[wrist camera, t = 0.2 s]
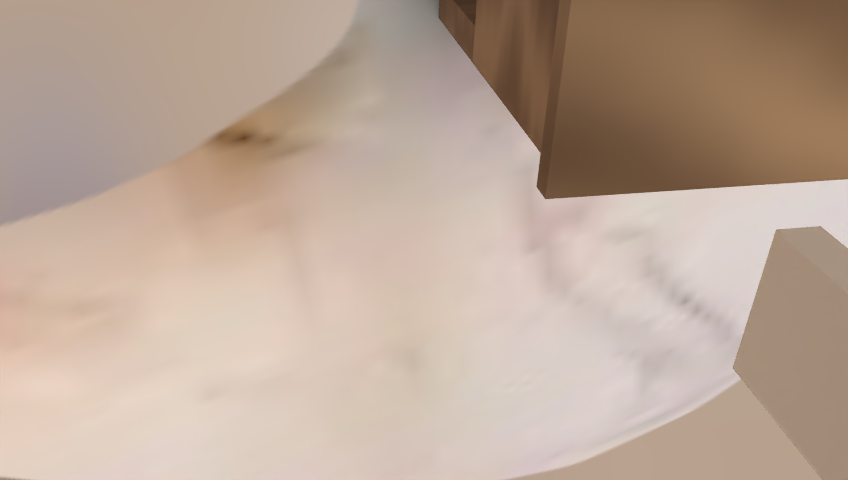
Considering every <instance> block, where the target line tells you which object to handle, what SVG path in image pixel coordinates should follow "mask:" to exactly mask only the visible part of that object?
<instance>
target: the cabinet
mask: <svg viewBox="0 0 848 480" xmlns="http://www.w3.org/2000/svg"><path fill="white" fill-rule="evenodd" d="M439 19H440V20H441V21H442V23H443V24H444V25H445V27H446V28H447V29H448V31H449V32H450V33H451V35H452V36H453V37H454V39H455V40H456V41H457V43H458V44H459V45H460V46H461V48H462V49H463V50H464V52H465V53H466V54H467V56H468V57H469V58H470V60H471V61H472V62H473V64H474V65H475V66H476V68H477V69H478V70H479V72H480V73H481V74H482V76H483V77H484V78H485V80H486V81H487V82H488V84H489V85H490V86H491V88H492V89H493V90H494V92H495V93H496V94H497V96H498V97H499V98H500V100H501V101H502V102H503V103H504V105H505V106H506V107H507V109H508V110H509V111H510V113H511V114H512V115H513V117H514V118H515V119H516V121H517V122H518V123H519V125H520V126H521V127H522V129H523V130H524V131H525V133H526V134H527V135H528V137H529V138H530V139H531V141H532V142H533V143H534V145H535V146H536V147H537V149H538V150H539V151H540V153H541V156H540V164H539V172H538V180H537V188H538V189H539V191H540V192H541V194H542V195H543V196H544V198H545V199H553V198H568V197H583V196H598V195H614V194H629V193H644V192H659V191H674V190H689V189H704V188H719V187H735V186H750V185H765V184H780V183H795V182H810V181H825V180H841V179H848V0H440V3H439Z"/></svg>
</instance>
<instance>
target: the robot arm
mask: <svg viewBox="0 0 848 480" xmlns="http://www.w3.org/2000/svg"><path fill="white" fill-rule="evenodd" d="M733 369H734V370H735V372H736V373H737V374H738V375H739V376H740V378H741V379H742V380H743V381H744V383H745V384H746V385H747V386H748V388H749V389H750V390H751V391H752V393H753V394H754V395H755V396H756V398H757V399H758V400H759V401H760V403H761V404H762V405H763V406H764V408H765V409H766V410H767V411H768V413H769V414H770V415H771V416H772V418H773V419H774V420H775V421H776V422H777V424H778V425H779V426H780V428H781V429H782V430H783V431H784V433H785V434H786V435H787V436H788V438H789V439H790V440H791V441H792V443H793V444H794V445H795V446H796V447H797V449H798V450H799V451H800V453H801V454H802V455H803V456H804V458H805V459H806V460H807V461H808V462H809V464H810V465H811V466H812V468H813V469H814V470H815V471H816V472H817V474H818V475H819V476H820V478H822V480H848V248H846V247H845V246H844V245H843V244H841V243H840V242H839V241H838V240H837V239H835V238H834V237H833V236H832V235H830V234H829V233H828V232H827V231H826V230H824V229H823V228H822V227H821V226H819V227H806V228H792V229H779V230H776V232H775V235H774V238H773V242H772V245H771V248H770V251H769V254H768V257H767V261H766V264H765V267H764V270H763V273H762V277H761V280H760V283H759V286H758V289H757V292H756V296H755V299H754V302H753V305H752V308H751V311H750V315H749V318H748V321H747V324H746V327H745V331H744V334H743V337H742V340H741V343H740V346H739V350H738V353H737V356H736V359H735V362H734V365H733Z"/></svg>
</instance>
